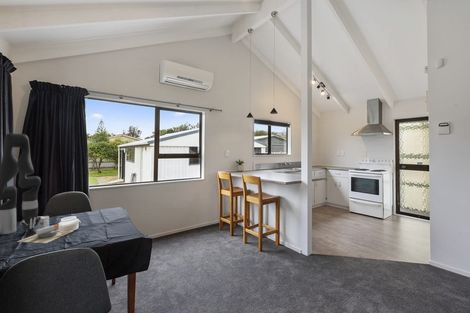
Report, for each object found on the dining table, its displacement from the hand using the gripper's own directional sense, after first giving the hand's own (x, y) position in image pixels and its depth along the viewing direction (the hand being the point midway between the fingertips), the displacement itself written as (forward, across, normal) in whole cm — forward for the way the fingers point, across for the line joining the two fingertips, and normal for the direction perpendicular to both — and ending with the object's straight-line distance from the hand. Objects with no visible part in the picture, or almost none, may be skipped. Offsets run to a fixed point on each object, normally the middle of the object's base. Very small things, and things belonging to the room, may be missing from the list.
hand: (30, 234), depth 144 cm
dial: (+4, -8, +4) cm, 10 cm away
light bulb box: (+6, -17, -12) cm, 22 cm away
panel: (+6, -8, +4) cm, 10 cm away
